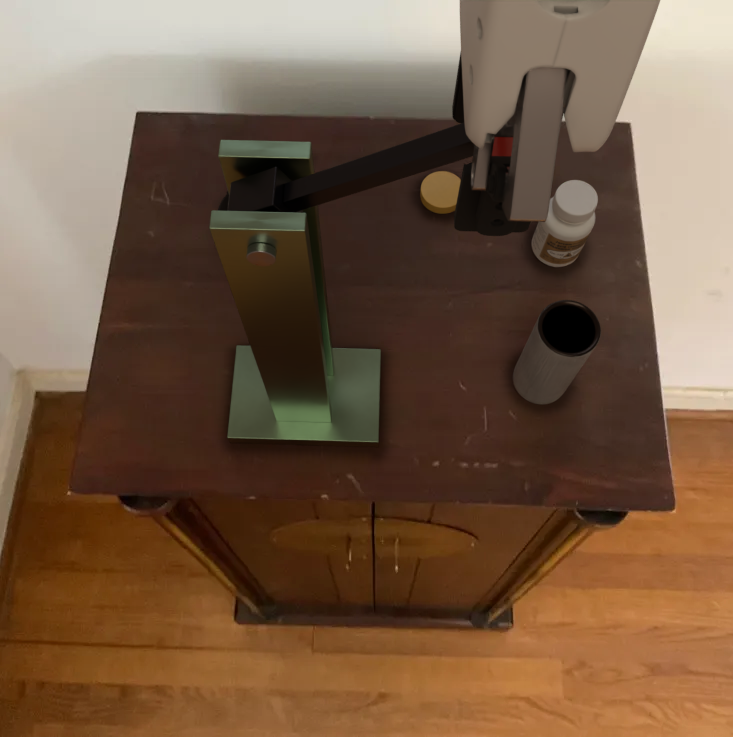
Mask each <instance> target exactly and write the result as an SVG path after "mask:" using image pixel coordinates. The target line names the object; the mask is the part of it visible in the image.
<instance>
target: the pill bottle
mask: <svg viewBox="0 0 733 737" xmlns="http://www.w3.org/2000/svg"><path fill="white" fill-rule="evenodd" d="M598 203H599V197H598V193H597V191H596V189H595V188H594V187H593V186H592V185H591V184H589V183H588V182H586V181H584V180H579V179H570V180H566V181H565V182H563V183H561V184H560V185H559V186H558V187H557V188H556V190H555V193H554V196H552V197H550V204H549V211H548V217H547V220H546V221H545V222H537V225H536V227H535V229H534V232H533V235H532V239H531V250H532V252H533V254H534V256H535V257H536V258H537V260H538V261H540V262H541V263H543V264H545V265H547V266H549V267H553V268H562V267H566V266H569V265H571V264H573V263H574V262H575V261H576V260H577V259H578V257H579V256H580V254H581V252H582V251H583V248H584V246H585V244H586V242H587V240H588V238H589V236H590V235H591V232H592V230H593V228H594V226H595V224H596V212H595V211H596V209H597V206H598Z"/></svg>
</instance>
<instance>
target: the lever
mask: <svg viewBox="0 0 733 737" xmlns="http://www.w3.org/2000/svg"><path fill="white" fill-rule="evenodd" d="M512 144H513V137H495V139H494V145H493V151H492V156H511V153H512ZM474 145H475V144H474V143H473V142H472V141H471V140H470V139H469V138H468V136H467V135H466V131H465V122H464V123H457V124H455V125H453V126H452V125H451V126H449V127H446V128H444V129H441V130H437V131H434V132H432V133H429V134H426V135H423V136H419V137H417V138H414V139H411V140H409V141H408V140H407V141H405V142H403V143H399V144H396V145H393V146H390V147H388V148H384V149H381V150H378V151H376V152H372V153H370V154H366V155H364V156H361V157H357V158H355V159H353V160H349V161H346V162H343V163H341V164H338V165H334V166H331V167H329V168H326V169H323V170H319V171H317V172H314V174H311V175H308V176H305V177H302V178H299V179H296V180H293V181H292V180H290V179H289V178H288V177H287V176H286V175H285V174H284V173H283V172H282V171H281V170H280V169H279V168H277V167H273V168H270V169H267V170H264V171H262V172H259V173H256V174H253V175H250V176H248V177H245V178H242V179H239V180H236V181H234V182H231V185H230V194H229V203H228V211H253V212H293V213H303V210H304V209H307V208H311V207H314V206H317V205H318V206H320V205H324V204H326V203H329V202H333V201H336V200H339V199H342V198H345V197H349V196H352V195H355V194H358V193H361V192H364V191H368V190H370V189H374V188H378V187H380V186H383V185H386V184H390V183H393V182H396V181H398V180H399V181H400V180H403V179H406V178H409V177H412V176H415V175H418V174H422V173H425V172H427V171H431V170H434V169H437V168H440V167H443V166H447V165H450V164H453V163H456V162H459V161H462V160H465V159H469V158H473V152H474Z"/></svg>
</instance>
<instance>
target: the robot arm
mask: <svg viewBox="0 0 733 737" xmlns="http://www.w3.org/2000/svg"><path fill="white" fill-rule="evenodd" d="M660 3H661V0H459V32H460V52H459V59H458V66H457V73H456V80H455V86H454V93H453V100H452V105H451V107H452V108H451V111H452V112H451V113H452V114H451V115H452V116H451V117H452V119H453V120H454V121H455V122H456V123H457V124H461V123H464V122H465V131H466V135H467V136H468V138H469V139H470V140H471V141H472V142H473V143H474V144H475V145H474V152H473V156H472V161H471V162H469V163H464V164H463V166H462V172H461V177H460V179H461V182H460V187H459V192H458V197H457V203H456V208H455V211H454V214H453V228H454V229H455V230H456V231H458V232H474V233H475V232H477V233H478V234H479V235H482V236H486V237H487V236H488V237H503V236H509V235H510V234H512V233H514V234H515V233H518V234H519V233H520V234H521V233H523V232H526V231H529V228H530V226H531V223H533V222H534V223H538V222H545V221H546V220H547V217H548V211H549V204H550V199H551V196H552V189H553V180H554V173H555V168H556V167H555V165H556V158H557V151H558V144H559V136H560V130H561V126H562V123H563V118H564V121H565V126H566V130H567V135H568V138H569V142H570V146H571V150H572V153H595V152H597V151H598V150H600V149H601V148H602V147H603V146H604V145H605V143H606V142H607V140H608V139H609V137H610V135H611V133H612V131H613V129H614V127H615V125H616V124H615V123H616V121H617V119H618V116H619V114H620V112H621V109H622V106H623V104H624V101H625V99H626V96H627V94H628V90H629V88H630V85H631V83H632V80H633V77H634V75H635V72H636V69H637V66H638V64H639V62H640V60H641V56H642V53H643V50H644V48H645V45H646V42H647V39H648V37H649V34H650V31H651V28H652V26H653V23H654V20H655V17H656V14H657V11H658V9H659V5H660ZM495 137H513V144H512V153H511V156H492V151H493V145H494V139H495Z"/></svg>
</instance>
